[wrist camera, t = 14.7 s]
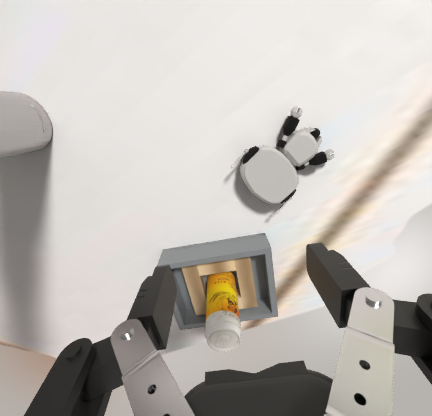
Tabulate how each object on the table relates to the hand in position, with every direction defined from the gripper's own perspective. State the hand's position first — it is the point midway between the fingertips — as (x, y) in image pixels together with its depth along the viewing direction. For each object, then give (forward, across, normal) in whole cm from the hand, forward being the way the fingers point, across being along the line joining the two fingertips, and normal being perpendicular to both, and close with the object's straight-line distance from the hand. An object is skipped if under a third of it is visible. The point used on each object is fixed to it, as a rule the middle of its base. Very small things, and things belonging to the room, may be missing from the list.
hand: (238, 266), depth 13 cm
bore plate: (+29, +4, +26) cm, 39 cm away
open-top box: (+30, +4, +26) cm, 40 cm away
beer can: (+29, +4, +25) cm, 39 cm away
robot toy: (+30, -10, +2) cm, 32 cm away
